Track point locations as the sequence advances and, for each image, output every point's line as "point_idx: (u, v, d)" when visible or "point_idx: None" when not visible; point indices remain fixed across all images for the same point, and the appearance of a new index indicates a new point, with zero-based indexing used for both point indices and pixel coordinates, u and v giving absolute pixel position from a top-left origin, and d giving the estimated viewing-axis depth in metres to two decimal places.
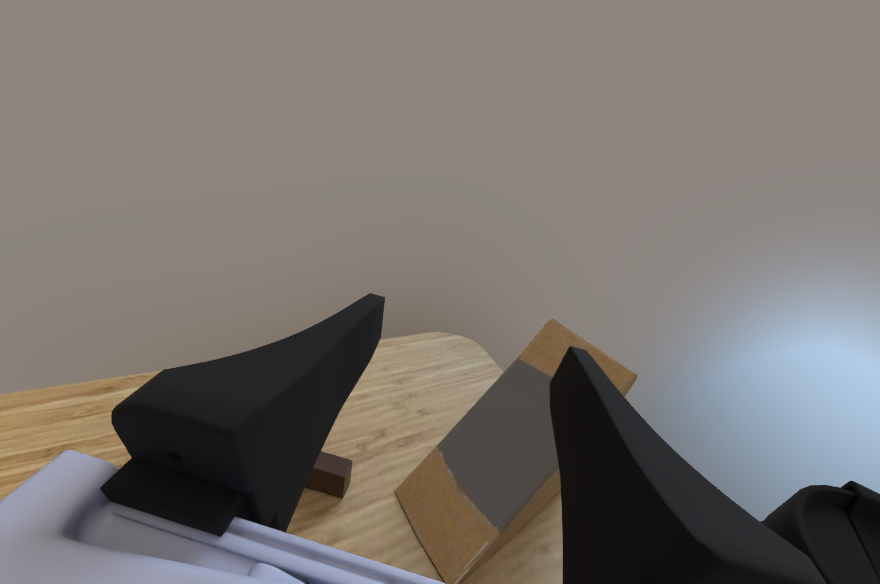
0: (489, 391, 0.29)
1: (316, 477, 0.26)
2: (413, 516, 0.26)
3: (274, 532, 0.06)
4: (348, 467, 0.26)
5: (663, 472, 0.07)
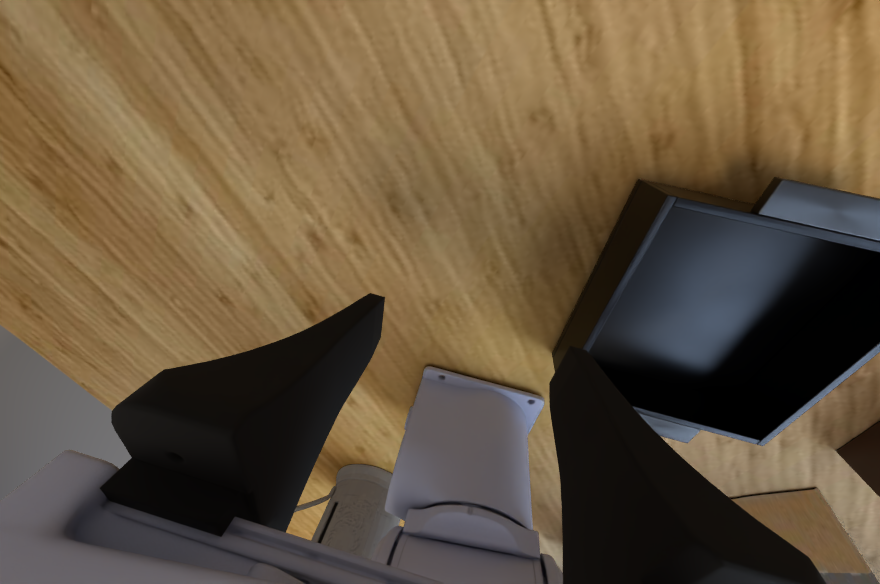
0: None
1: None
2: (776, 500, 0.25)
3: (274, 532, 0.06)
4: None
5: (663, 472, 0.07)
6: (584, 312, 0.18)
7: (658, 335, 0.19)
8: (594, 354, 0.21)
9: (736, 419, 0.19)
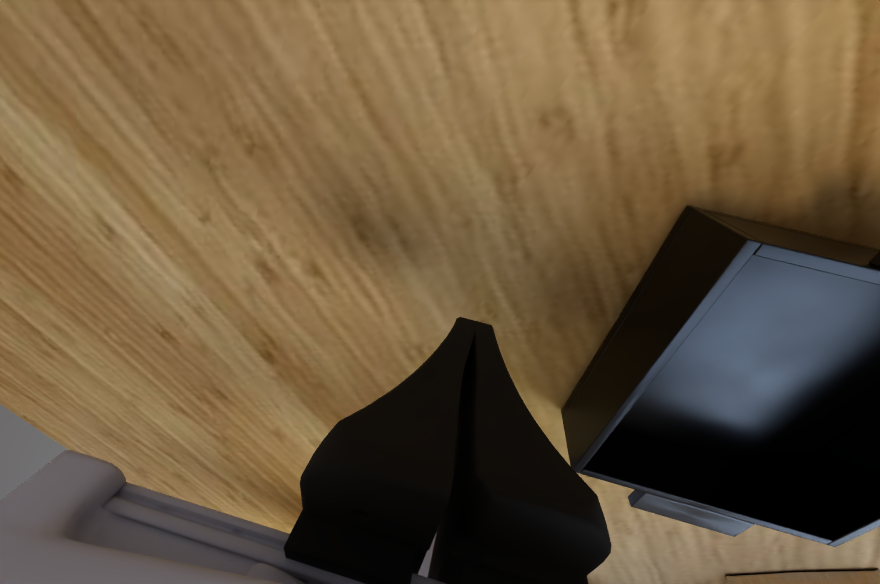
0: None
1: None
2: (826, 580, 0.20)
3: (274, 532, 0.06)
4: None
5: (498, 426, 0.07)
6: (606, 374, 0.14)
7: (699, 399, 0.15)
8: None
9: (797, 507, 0.15)
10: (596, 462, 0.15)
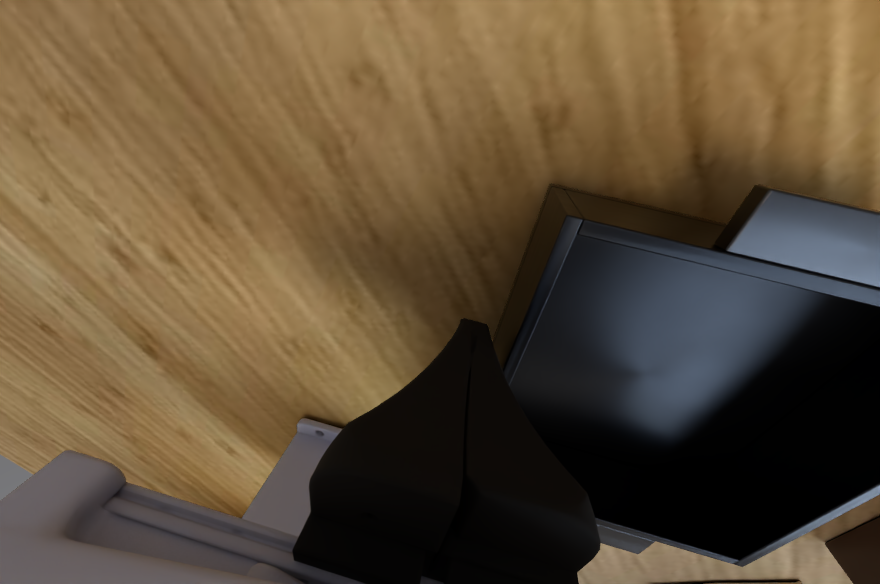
0: None
1: None
2: None
3: (274, 532, 0.06)
4: None
5: (490, 424, 0.07)
6: None
7: (599, 403, 0.14)
8: None
9: (707, 521, 0.14)
10: None
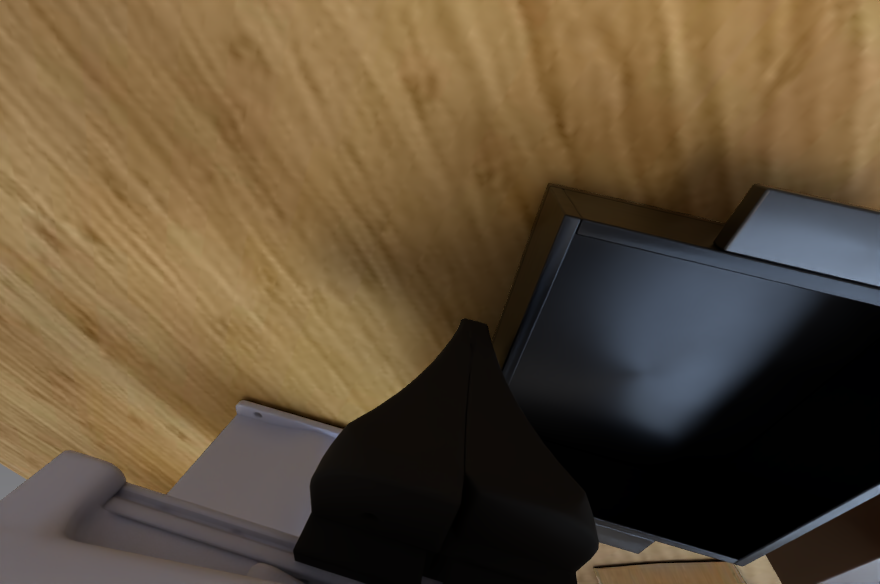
0: None
1: (810, 543, 0.14)
2: (682, 572, 0.19)
3: (274, 532, 0.06)
4: None
5: (489, 423, 0.07)
6: None
7: (598, 403, 0.14)
8: None
9: (707, 521, 0.14)
10: None
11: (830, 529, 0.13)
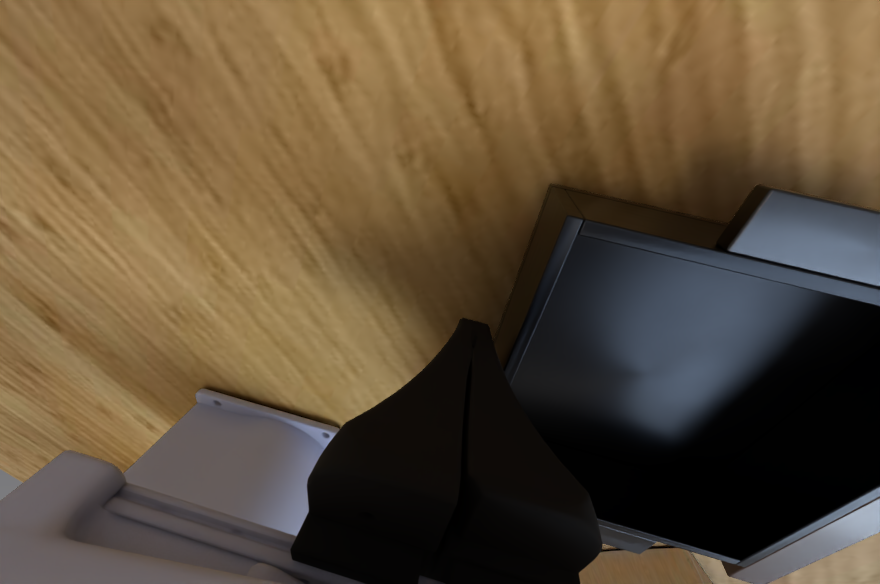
0: None
1: None
2: (639, 558, 0.20)
3: (274, 532, 0.06)
4: (747, 580, 0.14)
5: (492, 424, 0.07)
6: None
7: (600, 403, 0.14)
8: None
9: (709, 521, 0.14)
10: None
11: None
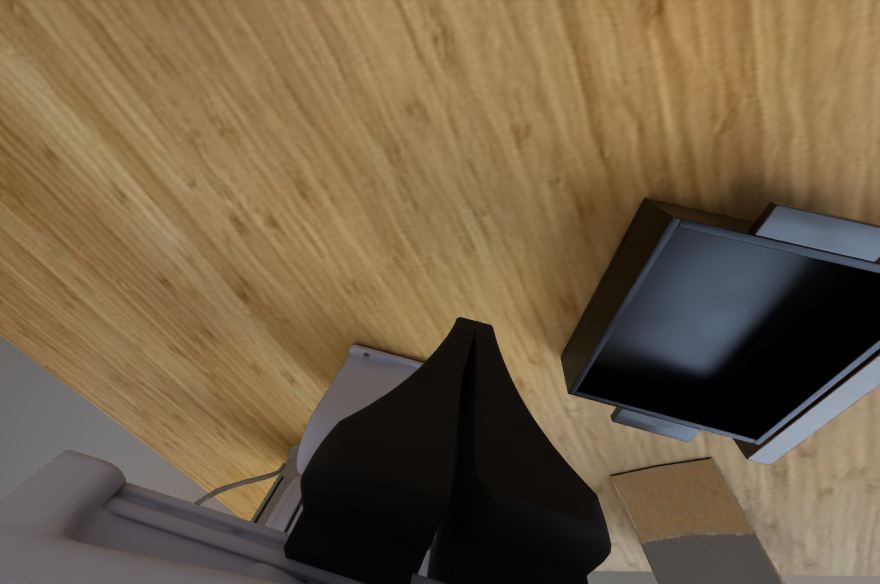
0: None
1: None
2: (677, 470, 0.26)
3: (274, 532, 0.06)
4: (759, 462, 0.21)
5: (498, 426, 0.07)
6: (593, 320, 0.19)
7: (661, 341, 0.21)
8: (601, 358, 0.22)
9: (734, 420, 0.21)
10: (586, 388, 0.21)
11: None
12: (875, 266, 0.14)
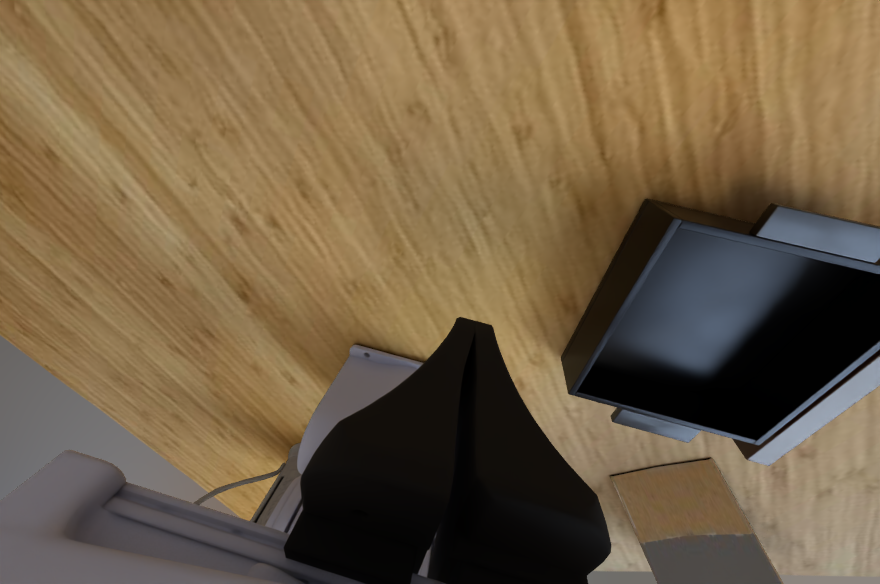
0: None
1: None
2: (677, 470, 0.26)
3: (274, 532, 0.06)
4: (759, 462, 0.21)
5: (498, 426, 0.07)
6: (593, 320, 0.19)
7: (661, 342, 0.21)
8: (601, 359, 0.22)
9: (734, 420, 0.21)
10: (586, 388, 0.21)
11: None
12: (875, 267, 0.14)
